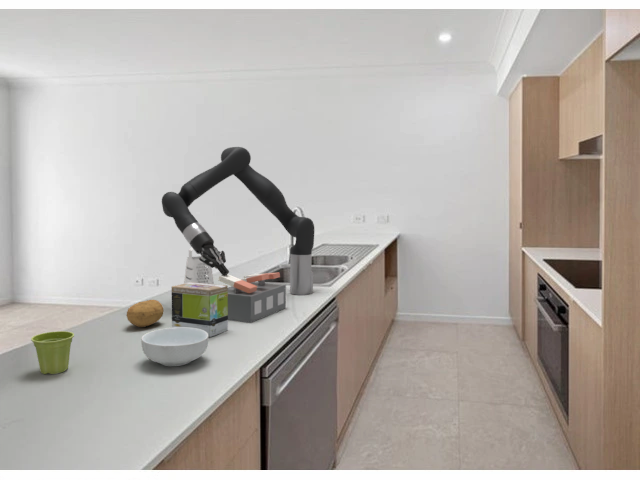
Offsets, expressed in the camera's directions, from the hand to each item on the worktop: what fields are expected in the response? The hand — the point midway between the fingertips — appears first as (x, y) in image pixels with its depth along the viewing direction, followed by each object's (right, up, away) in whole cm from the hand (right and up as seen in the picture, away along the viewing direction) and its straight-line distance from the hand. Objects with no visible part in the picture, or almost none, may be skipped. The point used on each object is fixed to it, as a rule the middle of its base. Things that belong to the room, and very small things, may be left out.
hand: (226, 274), depth 188 cm
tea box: (-5, -17, -19) cm, 26 cm away
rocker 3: (+11, -2, +13) cm, 17 cm away
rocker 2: (+8, -2, +6) cm, 10 cm away
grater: (-19, -11, +39) cm, 45 cm away
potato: (-24, -16, -14) cm, 32 cm away
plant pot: (-32, -20, -57) cm, 69 cm away
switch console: (+9, -14, +10) cm, 19 cm away
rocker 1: (+4, -3, -2) cm, 5 cm away
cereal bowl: (-5, -20, -49) cm, 53 cm away
